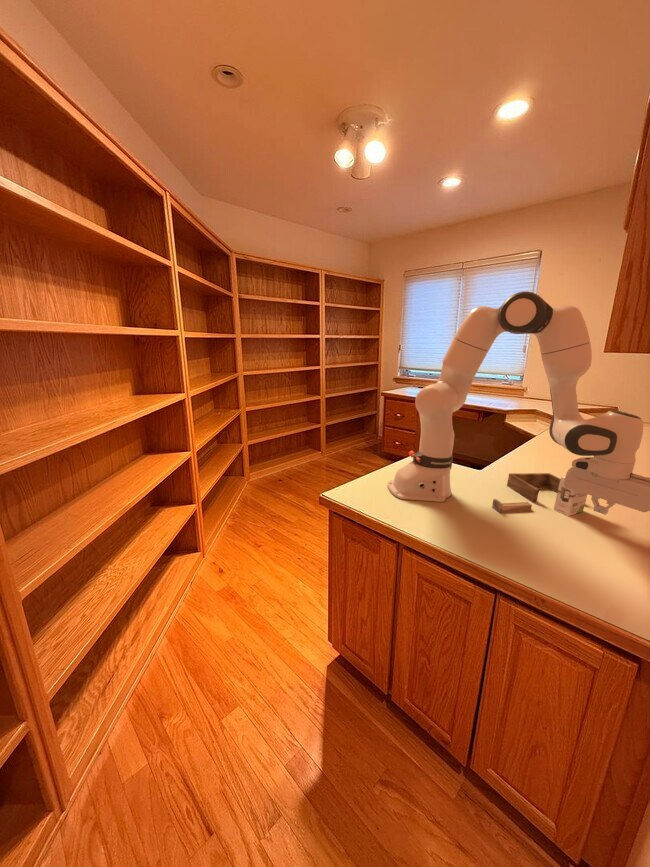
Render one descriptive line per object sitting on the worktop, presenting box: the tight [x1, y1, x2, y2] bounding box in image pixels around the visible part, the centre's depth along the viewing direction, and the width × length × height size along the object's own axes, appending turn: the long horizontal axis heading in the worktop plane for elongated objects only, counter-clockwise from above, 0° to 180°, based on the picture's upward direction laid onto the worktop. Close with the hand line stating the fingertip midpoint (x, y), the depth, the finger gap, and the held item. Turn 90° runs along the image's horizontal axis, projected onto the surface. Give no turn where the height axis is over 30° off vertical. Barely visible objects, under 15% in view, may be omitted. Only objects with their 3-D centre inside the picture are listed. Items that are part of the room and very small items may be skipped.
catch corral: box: [506, 472, 561, 504], centre depth 118 cm, size 16×14×5 cm
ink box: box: [553, 475, 588, 517], centre depth 105 cm, size 9×5×12 cm, turn 116°
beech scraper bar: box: [491, 498, 533, 514], centre depth 105 cm, size 4×12×3 cm, turn 98°
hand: (600, 512), depth 96 cm, fingers closed
